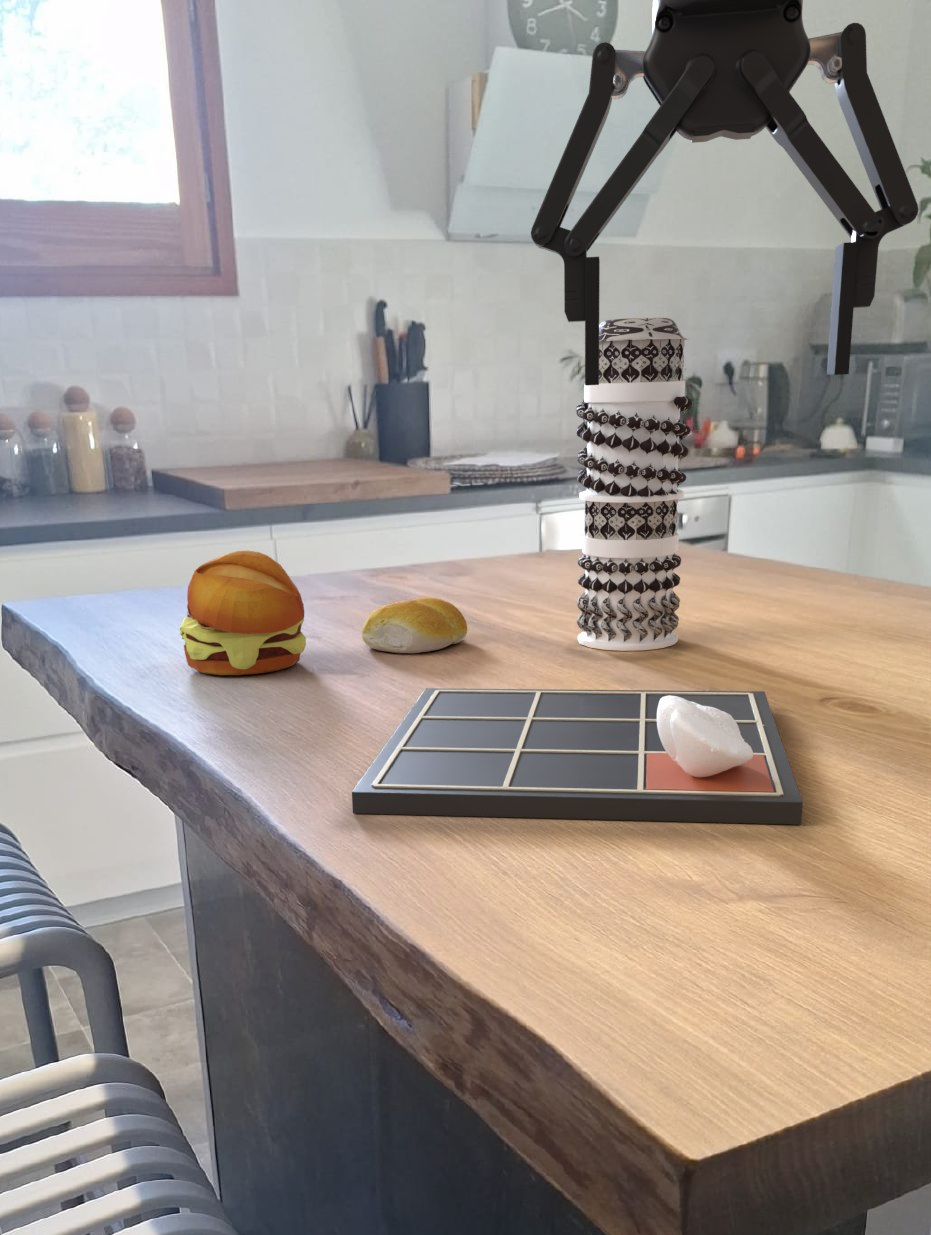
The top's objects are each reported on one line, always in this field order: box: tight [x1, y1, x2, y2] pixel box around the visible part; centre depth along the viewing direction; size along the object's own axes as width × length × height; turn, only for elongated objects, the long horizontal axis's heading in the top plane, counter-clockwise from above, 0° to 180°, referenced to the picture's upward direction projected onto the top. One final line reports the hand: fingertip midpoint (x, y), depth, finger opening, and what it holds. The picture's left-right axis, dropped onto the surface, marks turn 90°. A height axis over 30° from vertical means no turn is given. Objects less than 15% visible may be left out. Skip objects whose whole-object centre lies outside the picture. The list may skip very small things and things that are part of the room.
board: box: [351, 687, 804, 826], centre depth 74 cm, size 23×23×1 cm
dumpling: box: [657, 695, 764, 777], centre depth 65 cm, size 7×5×4 cm
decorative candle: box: [575, 317, 694, 652], centre depth 100 cm, size 9×9×25 cm
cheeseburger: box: [178, 550, 307, 676], centre depth 98 cm, size 10×11×10 cm
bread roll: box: [361, 596, 468, 654], centre depth 105 cm, size 8×9×4 cm
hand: (713, 380), depth 70 cm, fingers open, 13 cm apart
